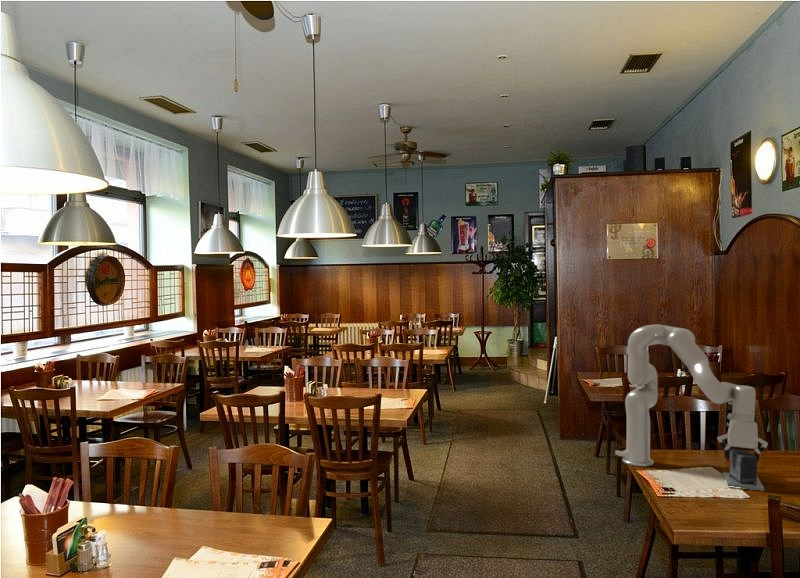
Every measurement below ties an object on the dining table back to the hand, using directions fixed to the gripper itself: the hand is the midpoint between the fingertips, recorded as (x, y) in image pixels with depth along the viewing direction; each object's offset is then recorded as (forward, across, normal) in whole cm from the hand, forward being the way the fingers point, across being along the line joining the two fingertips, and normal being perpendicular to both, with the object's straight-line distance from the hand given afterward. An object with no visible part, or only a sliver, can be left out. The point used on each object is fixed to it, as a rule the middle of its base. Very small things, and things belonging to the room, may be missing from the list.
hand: (741, 461), depth 238 cm
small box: (+7, +1, 0) cm, 7 cm away
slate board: (+9, +1, 0) cm, 9 cm away
